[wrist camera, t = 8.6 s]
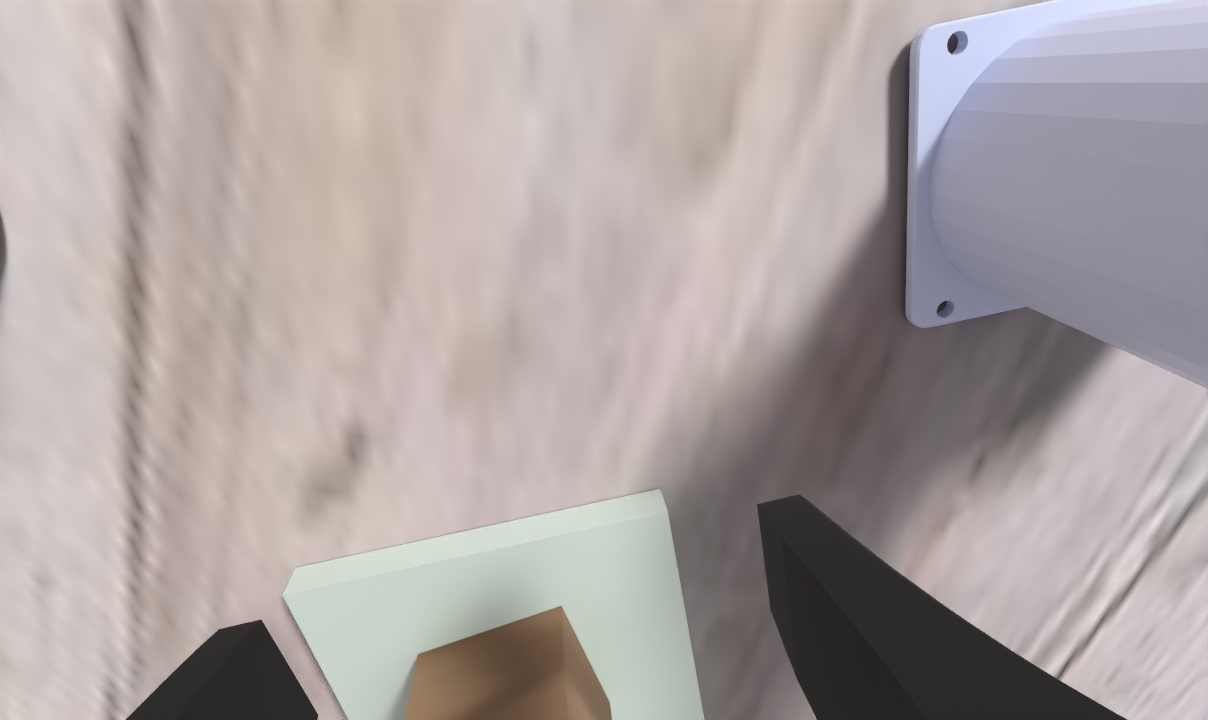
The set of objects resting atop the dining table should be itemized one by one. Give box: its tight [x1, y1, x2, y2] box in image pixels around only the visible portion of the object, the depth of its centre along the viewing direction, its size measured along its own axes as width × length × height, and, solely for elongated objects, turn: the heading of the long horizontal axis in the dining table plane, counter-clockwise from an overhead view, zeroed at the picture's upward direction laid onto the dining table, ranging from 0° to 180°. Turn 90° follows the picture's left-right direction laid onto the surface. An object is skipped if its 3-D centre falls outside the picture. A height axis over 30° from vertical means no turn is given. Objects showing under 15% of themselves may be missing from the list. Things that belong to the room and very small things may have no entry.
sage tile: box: [282, 489, 704, 720], centre depth 22 cm, size 12×12×1 cm
